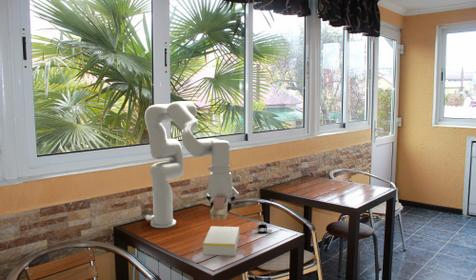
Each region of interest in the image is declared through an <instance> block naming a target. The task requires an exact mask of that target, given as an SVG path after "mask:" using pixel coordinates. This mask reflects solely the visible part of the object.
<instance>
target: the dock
mask: <svg viewBox="0 0 476 280" xmlns="http://www.w3.org/2000/svg"><path fill="white" fill-rule="evenodd" d="M204 238H205V239H204V240H203V242H202V246H203V247H202V250H203V251H202V252H203V255H204V256H205V255H207V256H229V257H231V256H234V257H235V256H236V254H237V249H238V245H239V241H240V226H215V225H213V226H212V225H211V226H210V228H209V230H208V232H207V234H206V237H204Z"/></svg>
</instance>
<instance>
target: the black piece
mask: <svg viewBox="0 0 476 280" xmlns="http://www.w3.org/2000/svg"><path fill="white" fill-rule="evenodd" d="M256 227H257V228H256V229H252V230H251V231H252V235H255V234H256V235H258V234H259V235H263V234H265V235H267V234H271V235H272V234H274V233H273V230H272V229H268V226H267V223H266V222H258V224H257V226H256Z"/></svg>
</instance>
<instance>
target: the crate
mask: <svg viewBox="0 0 476 280" xmlns="http://www.w3.org/2000/svg"><path fill="white" fill-rule="evenodd" d="M224 207H225V197H214V209H224Z"/></svg>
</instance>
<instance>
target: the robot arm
mask: <svg viewBox="0 0 476 280" xmlns="http://www.w3.org/2000/svg"><path fill="white" fill-rule="evenodd" d="M197 112H198V109H197V106H196V105H195V104H194V103H193V102H192V101H189V100H188V101H187V100H186V101H184V100H183V101H173V102H171V103H162V104H161V103H159V104H157V103H156V104H152V105H150V106H148V107H147V108H146V109H145V112H144V113H145V114H144V123H145V125H146V128H147V131H148V139H149V149H150V155H151V157H152V158H153V159H154V160H164V159H165V161H159V162H156V163H153V164H152V165H151V167H150V169H149V176H150V179H151V186H152V187H151V188H152V205H153V208H152V210H153V214H152V215H145V220H146V221H147V222H148V221H150V226H151V227H152V228H155V229H168V228H171V227H172V228H173V227H174V226H176V224H177V220H176V219H174V214H173V213H174V209H173V206H174V205H173V204H174V203H173V188H172V186H171V184H170V183H169V181H172V180H176V179H179V178H181V177H183V175H184V173H185V164H184V156H183V147H182V145H183V146H184V148H185V149H186V151H187V152H188V153H189V154H190V155H191V156H193V157H194V158H196V159H197V158H198V159H199V158H205V157H211V166H208V171H210V173H209V176H208V177H209V178H208V187H207V188H206V189H205V191H204V192H203V193H202V196H204V197H205V198H206V200H208V201H209V203H210V210H211V209H212V207H213V205H214V198H215V197H227V199H228V213H230V212H231V210H232V202H233V201H235V199H236V198H237V197H238V196H239V195H240V192H238V190H236V189H235V188H234V183H233V176H232V172H230V169H231V168H230V142H229V141H228V140H226V139H225V140H223V139H222V140H221V139H218V138H215V137H213V138H212V137H211V138H203V139H197V138H196V137H195V135H193V133H194V132H195V131H196V130H197V128H198V126H199V121H198V119H197V118H196V116H197ZM163 122H164V123H166V122H173V123H174V124H175V125H176V127H178V129H179V130H180V131H181V142H182V144H181V143H180V141H179V140H178V139H176V138H168V136H167V130H166V128H165V126H164V125H163ZM166 159H169V160H166ZM233 194H234V195H233Z"/></svg>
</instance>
